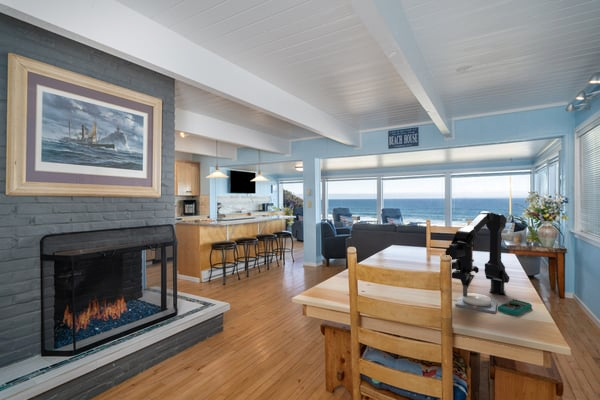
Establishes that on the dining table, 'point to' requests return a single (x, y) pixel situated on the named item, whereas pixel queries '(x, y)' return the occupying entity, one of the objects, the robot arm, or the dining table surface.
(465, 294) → the dial
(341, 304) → the dining table surface
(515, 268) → the dining table surface
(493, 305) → the base plate
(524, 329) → the dining table surface
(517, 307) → the digital multimeter
